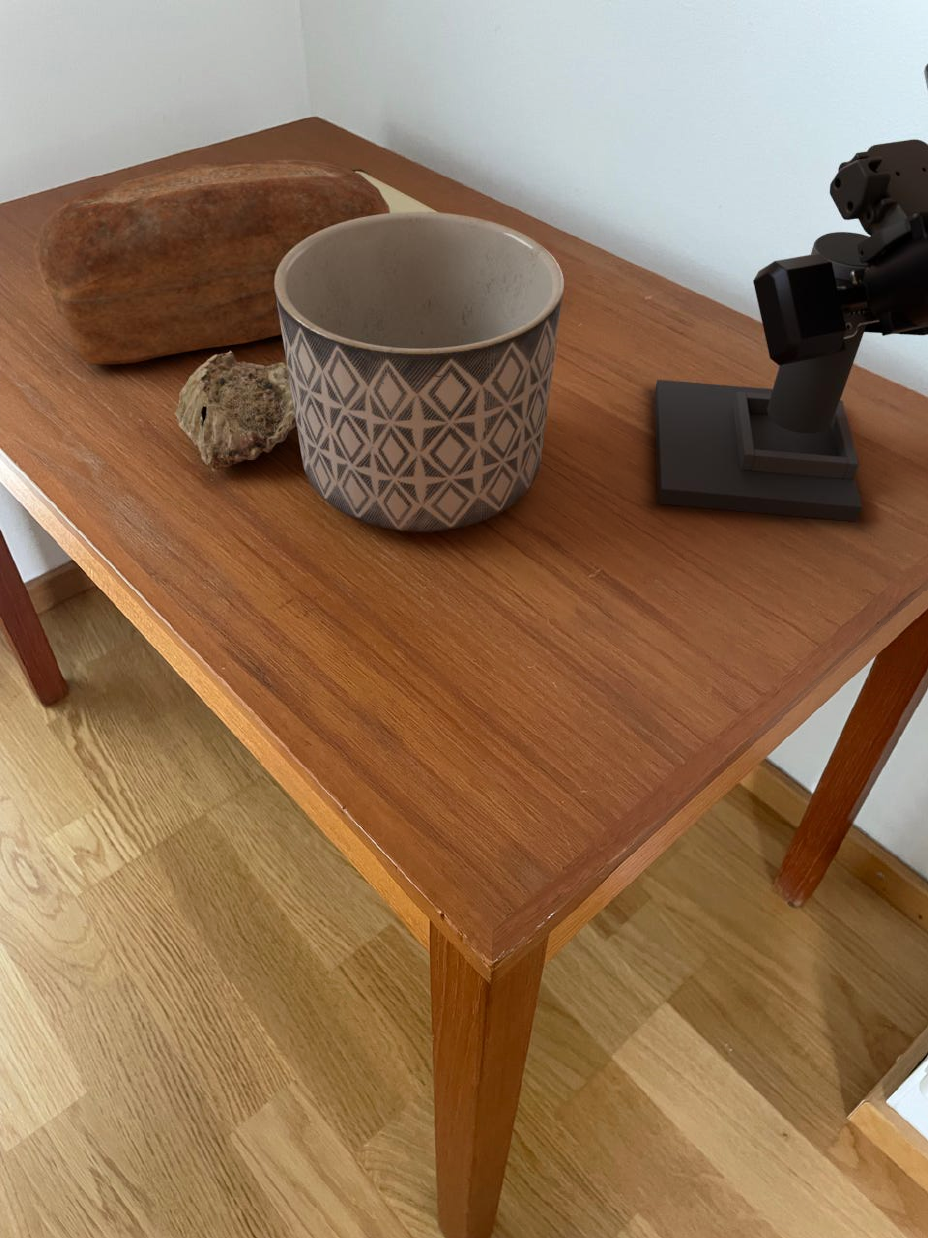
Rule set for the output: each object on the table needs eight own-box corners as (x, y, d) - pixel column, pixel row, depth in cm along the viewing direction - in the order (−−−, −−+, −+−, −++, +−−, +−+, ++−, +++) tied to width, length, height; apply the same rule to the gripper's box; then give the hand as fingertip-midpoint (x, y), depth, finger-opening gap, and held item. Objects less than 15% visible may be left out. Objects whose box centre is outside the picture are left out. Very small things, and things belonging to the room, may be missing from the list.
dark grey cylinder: (847, 426, 75) (909, 259, 65) (790, 440, 73) (844, 271, 63) (808, 390, 78) (861, 226, 68) (752, 402, 77) (799, 236, 67)
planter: (285, 416, 81) (259, 224, 69) (505, 388, 84) (517, 200, 72) (319, 571, 68) (294, 368, 56) (576, 531, 72) (604, 332, 60)
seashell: (199, 505, 77) (305, 473, 74) (142, 443, 72) (253, 406, 69) (229, 413, 84) (327, 379, 81) (179, 350, 79) (282, 312, 76)
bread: (409, 323, 92) (405, 178, 82) (72, 386, 83) (23, 234, 74) (369, 265, 99) (361, 126, 89) (57, 318, 91) (11, 172, 81)
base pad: (828, 408, 83) (839, 378, 81) (856, 522, 73) (869, 491, 71) (654, 393, 84) (660, 363, 82) (657, 504, 74) (664, 473, 72)
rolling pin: (543, 310, 94) (547, 261, 90) (499, 328, 91) (502, 279, 88) (356, 195, 111) (353, 150, 107) (314, 208, 108) (310, 162, 105)
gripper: (1073, 96, 58) (894, 203, 73) (813, 131, 54) (679, 239, 69) (1109, 278, 59) (924, 348, 74) (855, 329, 54) (713, 393, 69)
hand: (813, 328), depth 72 cm, fingers closed on dark grey cylinder, 5 cm apart
